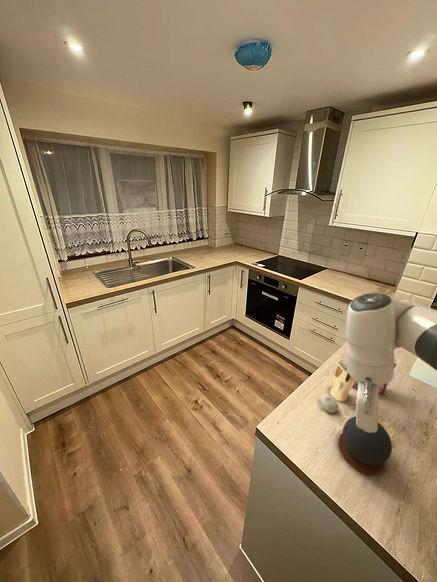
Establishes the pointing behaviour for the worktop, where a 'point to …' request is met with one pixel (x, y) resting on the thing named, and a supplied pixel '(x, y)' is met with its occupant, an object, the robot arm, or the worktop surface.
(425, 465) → the worktop surface
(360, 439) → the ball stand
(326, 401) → the garlic
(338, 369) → the cream cylindrical can
